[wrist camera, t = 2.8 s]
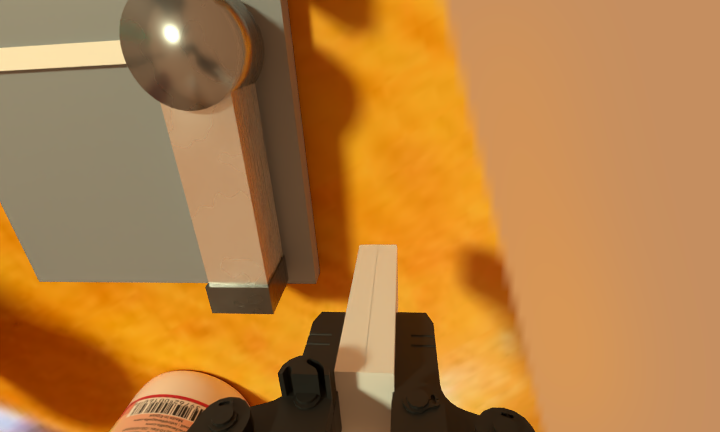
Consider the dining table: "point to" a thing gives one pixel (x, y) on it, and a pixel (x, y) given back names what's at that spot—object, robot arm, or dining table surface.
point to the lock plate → (124, 149)
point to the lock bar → (214, 138)
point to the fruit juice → (172, 402)
